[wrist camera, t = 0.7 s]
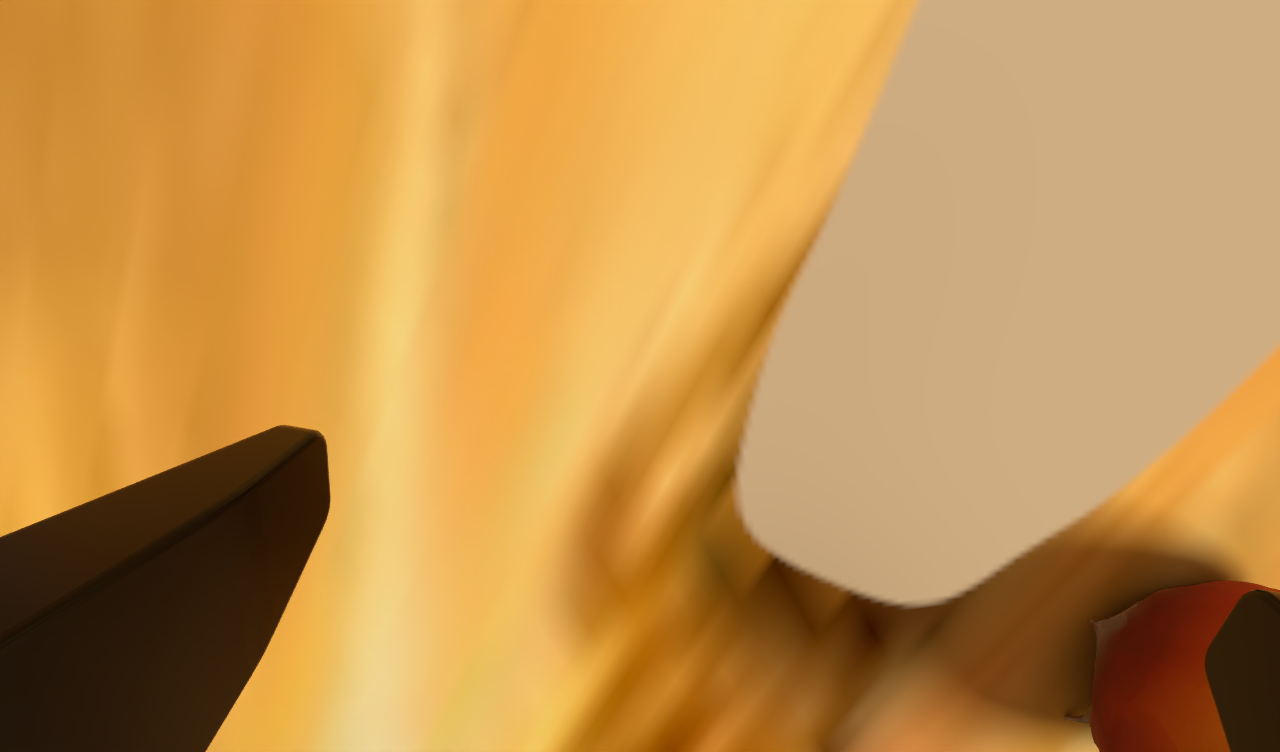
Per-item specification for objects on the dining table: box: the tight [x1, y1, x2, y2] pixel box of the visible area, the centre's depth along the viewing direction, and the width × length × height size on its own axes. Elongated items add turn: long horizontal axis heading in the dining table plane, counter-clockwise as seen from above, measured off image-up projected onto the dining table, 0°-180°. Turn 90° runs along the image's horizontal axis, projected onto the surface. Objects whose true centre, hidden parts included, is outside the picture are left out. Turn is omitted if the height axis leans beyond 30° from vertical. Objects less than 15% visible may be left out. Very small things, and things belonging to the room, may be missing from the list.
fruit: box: [1064, 581, 1280, 752], centre depth 23 cm, size 8×8×8 cm
